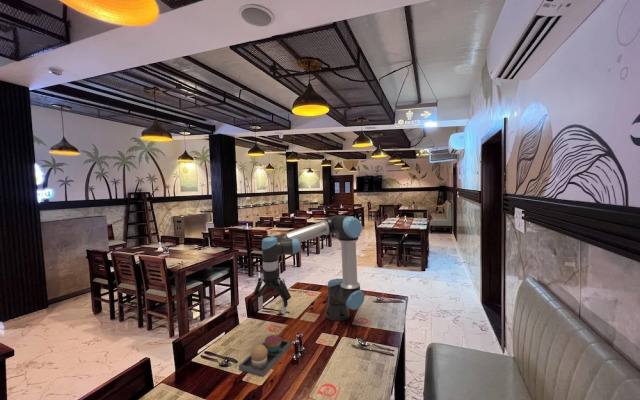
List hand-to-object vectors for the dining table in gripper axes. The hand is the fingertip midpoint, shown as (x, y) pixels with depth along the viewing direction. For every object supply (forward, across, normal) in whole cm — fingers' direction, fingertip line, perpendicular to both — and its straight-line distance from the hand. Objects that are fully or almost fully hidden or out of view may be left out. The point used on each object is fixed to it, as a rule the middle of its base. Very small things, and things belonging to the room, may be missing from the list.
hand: (272, 310), depth 139 cm
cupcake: (+20, 0, 0) cm, 20 cm away
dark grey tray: (+21, 0, +6) cm, 22 cm away
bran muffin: (+20, 0, +12) cm, 23 cm away
